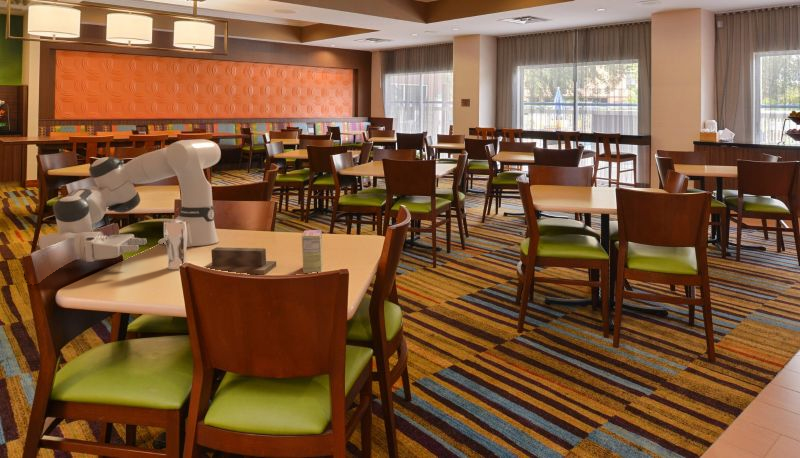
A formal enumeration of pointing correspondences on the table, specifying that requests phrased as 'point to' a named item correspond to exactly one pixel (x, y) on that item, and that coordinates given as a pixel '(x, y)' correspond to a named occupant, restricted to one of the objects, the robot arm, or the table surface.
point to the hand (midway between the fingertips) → (142, 244)
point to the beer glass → (175, 242)
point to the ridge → (241, 260)
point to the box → (312, 251)
